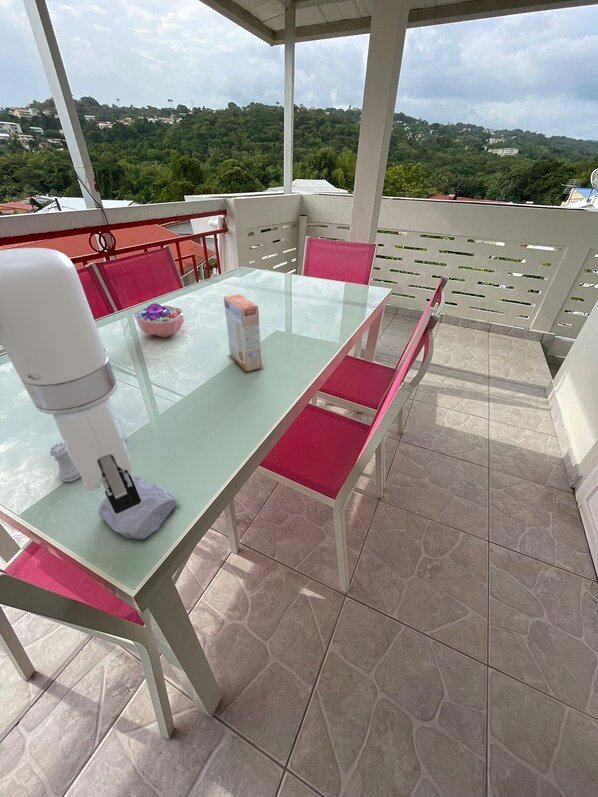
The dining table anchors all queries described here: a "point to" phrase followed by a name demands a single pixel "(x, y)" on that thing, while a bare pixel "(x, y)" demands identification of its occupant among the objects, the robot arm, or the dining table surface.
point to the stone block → (140, 511)
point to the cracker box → (243, 331)
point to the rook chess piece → (65, 463)
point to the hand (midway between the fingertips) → (124, 497)
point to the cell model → (160, 320)
